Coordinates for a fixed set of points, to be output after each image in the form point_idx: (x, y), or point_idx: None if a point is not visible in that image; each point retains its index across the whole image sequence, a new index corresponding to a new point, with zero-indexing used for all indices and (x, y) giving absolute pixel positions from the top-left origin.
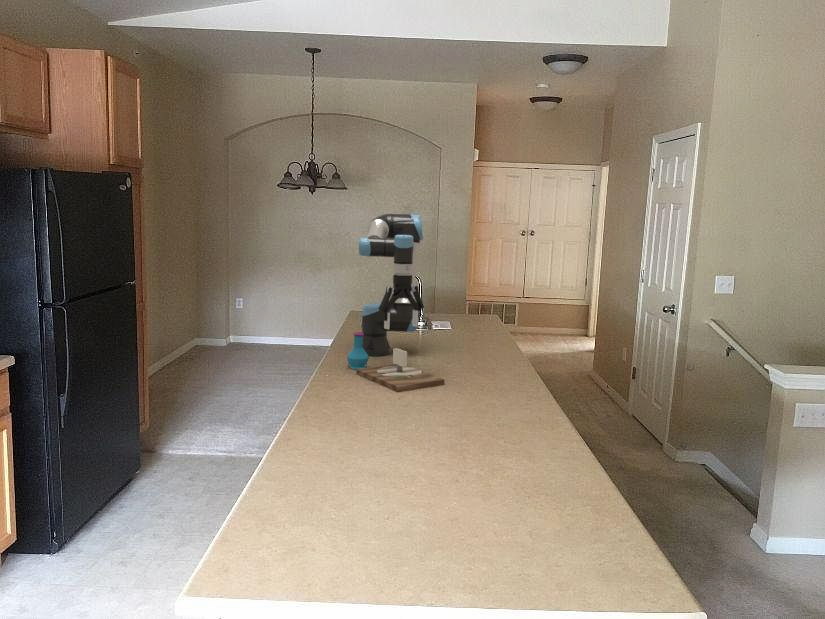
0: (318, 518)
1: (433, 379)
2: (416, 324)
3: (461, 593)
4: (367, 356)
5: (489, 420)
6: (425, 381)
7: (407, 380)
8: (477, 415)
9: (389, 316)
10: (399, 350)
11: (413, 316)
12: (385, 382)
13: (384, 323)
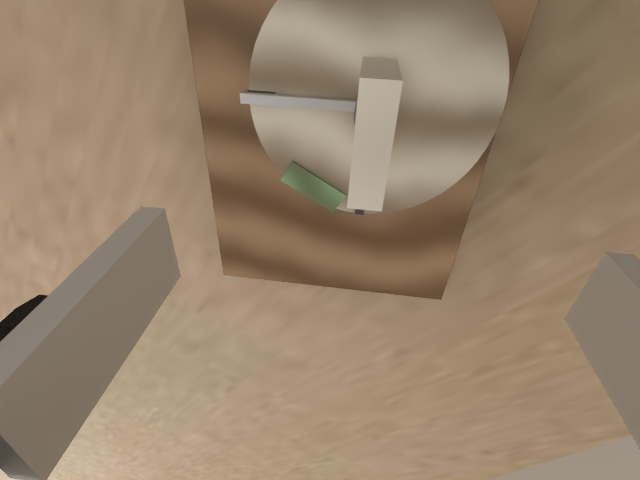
0: None
1: (405, 279)
2: (583, 342)
3: None
4: None
5: (300, 456)
6: (357, 280)
7: (305, 238)
8: (300, 439)
9: (82, 415)
10: (358, 159)
11: None
12: (214, 204)
13: (106, 247)
